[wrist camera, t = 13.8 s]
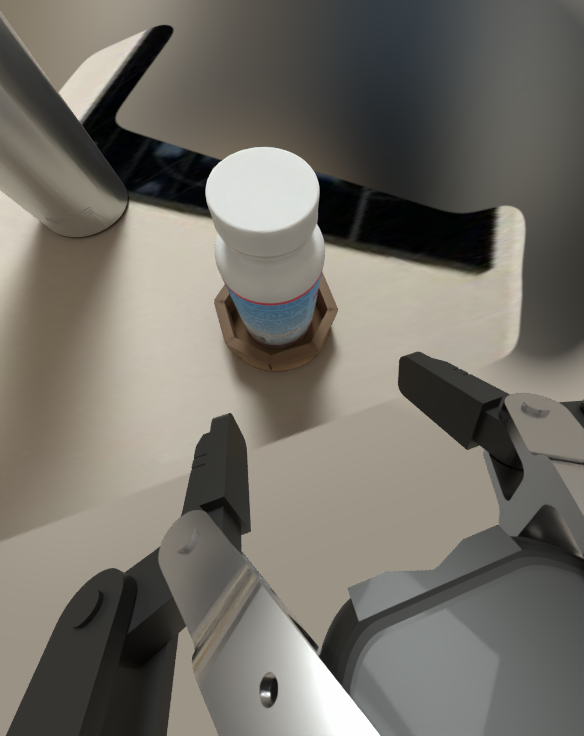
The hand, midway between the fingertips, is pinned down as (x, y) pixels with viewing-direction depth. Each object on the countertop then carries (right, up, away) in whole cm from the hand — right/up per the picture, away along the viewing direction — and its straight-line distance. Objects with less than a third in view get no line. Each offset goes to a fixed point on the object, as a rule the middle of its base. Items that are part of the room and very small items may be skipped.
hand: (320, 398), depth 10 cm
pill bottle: (-3, +6, +10) cm, 12 cm away
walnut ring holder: (-3, +6, +10) cm, 12 cm away
